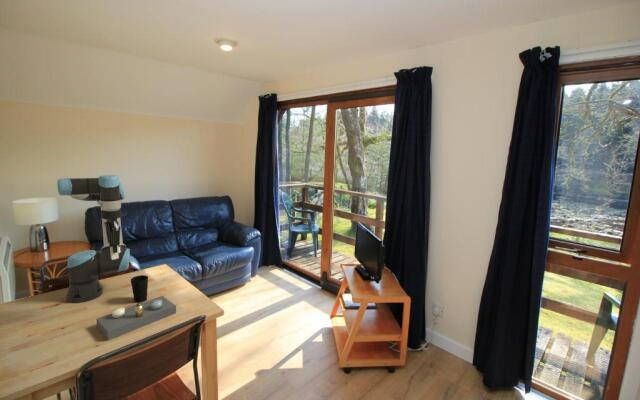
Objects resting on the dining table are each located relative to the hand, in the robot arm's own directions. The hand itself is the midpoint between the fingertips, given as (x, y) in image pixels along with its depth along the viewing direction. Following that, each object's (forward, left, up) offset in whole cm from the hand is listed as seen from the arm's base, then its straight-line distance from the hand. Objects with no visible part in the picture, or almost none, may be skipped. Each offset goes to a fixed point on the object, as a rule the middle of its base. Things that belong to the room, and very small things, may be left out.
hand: (114, 258), depth 140 cm
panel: (+15, +3, -26) cm, 31 cm away
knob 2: (+17, +10, -26) cm, 33 cm away
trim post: (+19, +2, -22) cm, 29 cm away
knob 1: (+13, -4, -26) cm, 29 cm away
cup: (-3, +11, -27) cm, 29 cm away
